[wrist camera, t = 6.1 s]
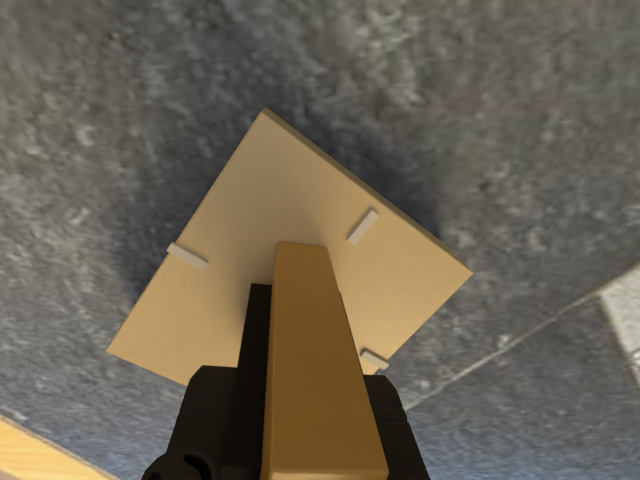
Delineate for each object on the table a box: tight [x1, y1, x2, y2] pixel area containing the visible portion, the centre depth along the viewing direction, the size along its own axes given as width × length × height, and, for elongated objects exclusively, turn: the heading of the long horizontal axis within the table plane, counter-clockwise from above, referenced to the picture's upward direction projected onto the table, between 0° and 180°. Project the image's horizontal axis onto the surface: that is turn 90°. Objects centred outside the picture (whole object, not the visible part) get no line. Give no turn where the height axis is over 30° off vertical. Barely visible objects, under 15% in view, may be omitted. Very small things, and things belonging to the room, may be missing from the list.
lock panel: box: [106, 108, 473, 386], centre depth 15 cm, size 11×10×3 cm
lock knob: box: [259, 241, 389, 480], centre depth 10 cm, size 6×2×8 cm, turn 170°
